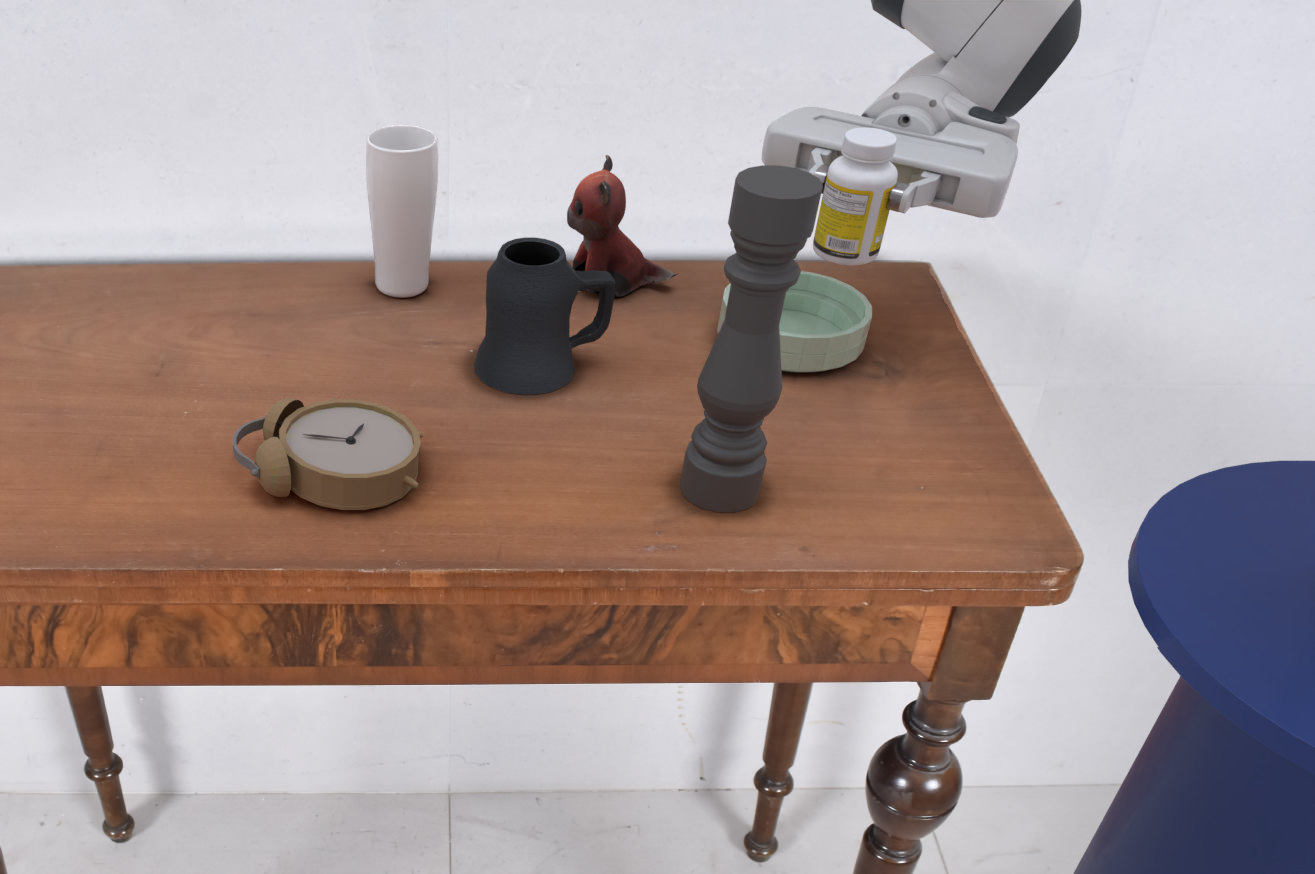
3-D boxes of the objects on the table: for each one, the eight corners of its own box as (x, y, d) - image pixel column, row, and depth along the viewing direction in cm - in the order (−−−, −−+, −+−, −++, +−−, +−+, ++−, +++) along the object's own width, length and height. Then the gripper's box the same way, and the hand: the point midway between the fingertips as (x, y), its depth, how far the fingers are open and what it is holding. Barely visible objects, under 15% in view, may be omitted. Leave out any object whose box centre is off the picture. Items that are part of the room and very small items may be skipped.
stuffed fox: (680, 304, 125) (698, 184, 118) (564, 304, 126) (575, 184, 118) (668, 269, 131) (685, 153, 123) (558, 269, 131) (568, 152, 123)
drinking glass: (376, 307, 125) (374, 154, 115) (361, 276, 130) (358, 127, 120) (443, 299, 126) (447, 147, 117) (426, 269, 131) (428, 121, 122)
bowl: (881, 331, 121) (891, 292, 119) (833, 392, 113) (843, 352, 110) (749, 295, 127) (756, 257, 124) (693, 351, 119) (700, 311, 116)
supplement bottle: (858, 235, 110) (886, 120, 104) (889, 263, 106) (921, 146, 100) (799, 241, 109) (824, 126, 103) (828, 270, 105) (856, 152, 99)
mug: (485, 398, 112) (491, 279, 105) (464, 347, 119) (468, 232, 112) (618, 387, 114) (633, 268, 106) (590, 337, 121) (602, 222, 113)
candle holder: (759, 472, 104) (825, 167, 87) (759, 517, 99) (829, 204, 83) (681, 463, 105) (732, 160, 88) (678, 507, 100) (730, 196, 84)
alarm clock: (421, 485, 97) (224, 450, 96) (410, 536, 100) (219, 502, 99) (427, 406, 106) (246, 373, 105) (416, 455, 109) (240, 423, 108)
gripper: (801, 77, 114) (740, 126, 106) (1040, 125, 106) (996, 182, 97) (787, 147, 119) (728, 200, 110) (1016, 199, 110) (971, 260, 101)
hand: (856, 192), depth 104 cm, fingers closed on supplement bottle, 5 cm apart
